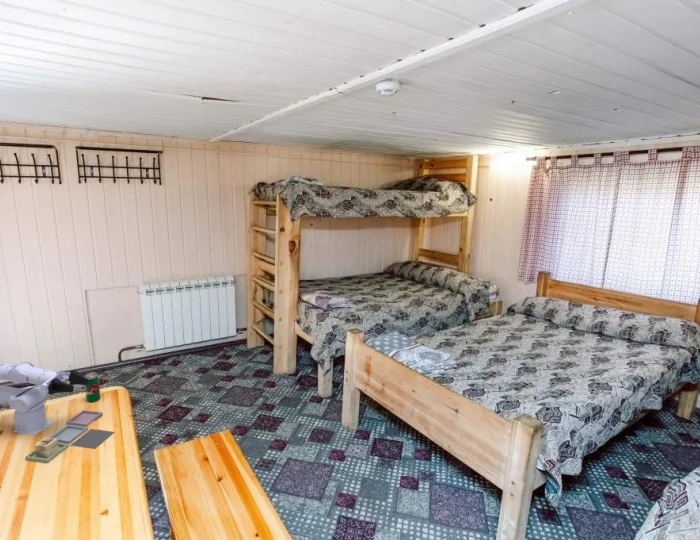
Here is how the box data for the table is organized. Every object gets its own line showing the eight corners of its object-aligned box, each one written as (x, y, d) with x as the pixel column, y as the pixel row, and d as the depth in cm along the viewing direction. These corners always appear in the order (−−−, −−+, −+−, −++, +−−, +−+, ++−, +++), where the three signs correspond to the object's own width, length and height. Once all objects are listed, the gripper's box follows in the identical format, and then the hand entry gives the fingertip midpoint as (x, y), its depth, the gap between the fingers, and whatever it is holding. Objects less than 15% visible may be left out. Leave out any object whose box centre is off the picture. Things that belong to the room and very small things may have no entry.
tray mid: (48, 442, 144) (48, 438, 144) (68, 428, 152) (67, 424, 152) (69, 444, 143) (69, 441, 143) (88, 430, 151) (87, 427, 151)
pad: (70, 446, 142) (69, 445, 142) (91, 429, 152) (91, 428, 152) (95, 449, 141) (95, 448, 141) (115, 432, 151) (115, 431, 150)
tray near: (25, 460, 134) (25, 457, 134) (47, 445, 142) (47, 441, 142) (48, 464, 133) (47, 460, 133) (68, 447, 141) (68, 444, 141)
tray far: (66, 425, 154) (66, 421, 154) (83, 413, 162) (83, 409, 162) (86, 427, 153) (86, 424, 152) (102, 415, 161) (102, 412, 161)
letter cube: (36, 456, 136) (34, 444, 135) (47, 448, 140) (46, 436, 139) (47, 458, 135) (46, 446, 134) (59, 449, 140) (57, 438, 139)
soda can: (103, 397, 174) (100, 372, 172) (94, 403, 169) (92, 377, 167) (92, 396, 175) (89, 371, 172) (83, 402, 170) (81, 376, 167)
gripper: (30, 373, 139) (67, 381, 139) (61, 361, 154) (95, 369, 153) (27, 392, 139) (64, 400, 139) (58, 379, 154) (92, 386, 154)
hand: (80, 385), depth 146 cm, fingers open, 7 cm apart
